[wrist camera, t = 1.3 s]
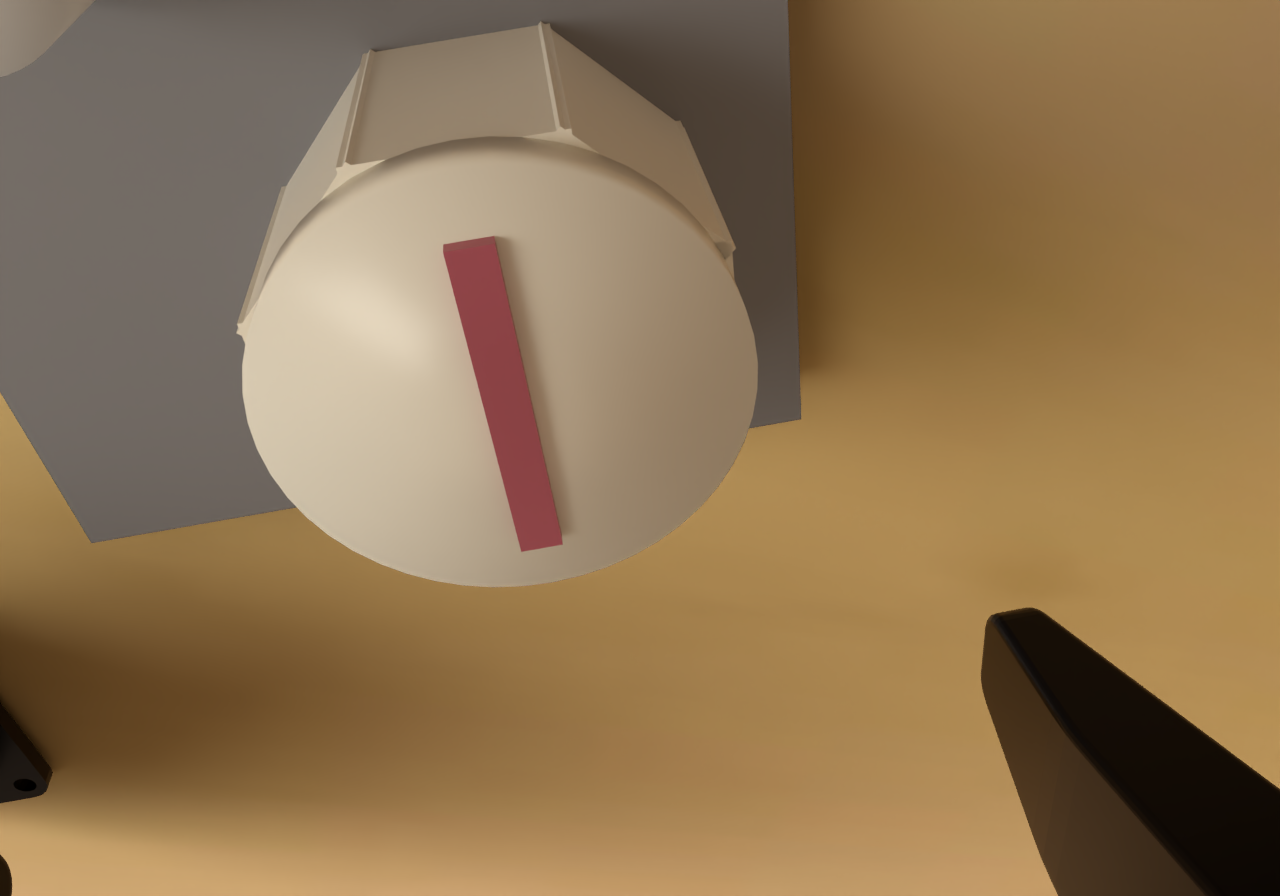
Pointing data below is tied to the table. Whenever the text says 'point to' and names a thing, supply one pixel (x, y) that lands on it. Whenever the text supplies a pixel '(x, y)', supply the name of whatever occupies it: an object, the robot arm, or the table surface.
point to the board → (247, 194)
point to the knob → (497, 318)
